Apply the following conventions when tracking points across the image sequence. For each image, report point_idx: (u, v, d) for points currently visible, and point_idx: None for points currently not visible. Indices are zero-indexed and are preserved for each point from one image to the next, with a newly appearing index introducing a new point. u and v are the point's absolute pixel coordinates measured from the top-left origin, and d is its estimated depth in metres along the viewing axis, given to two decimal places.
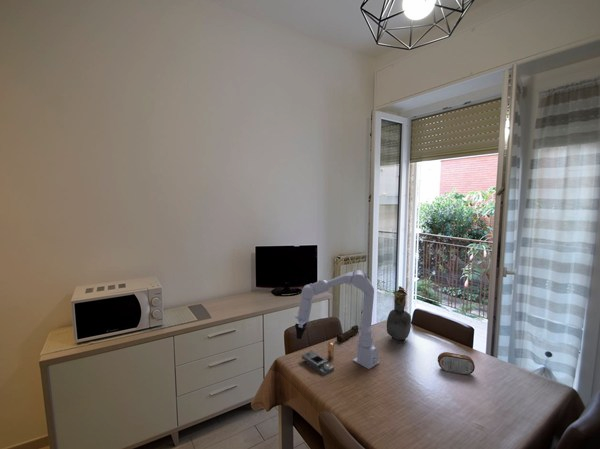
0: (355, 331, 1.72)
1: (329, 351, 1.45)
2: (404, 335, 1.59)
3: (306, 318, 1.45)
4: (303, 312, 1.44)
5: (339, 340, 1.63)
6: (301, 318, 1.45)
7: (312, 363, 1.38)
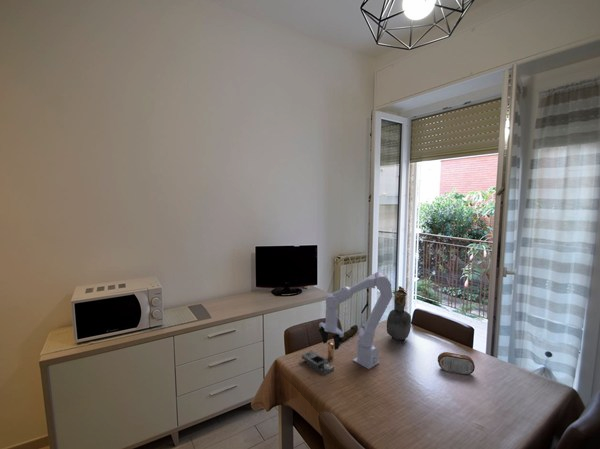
0: (355, 331, 1.72)
1: (329, 351, 1.45)
2: (404, 335, 1.59)
3: None
4: (335, 322, 1.42)
5: None
6: (334, 328, 1.42)
7: (312, 363, 1.38)
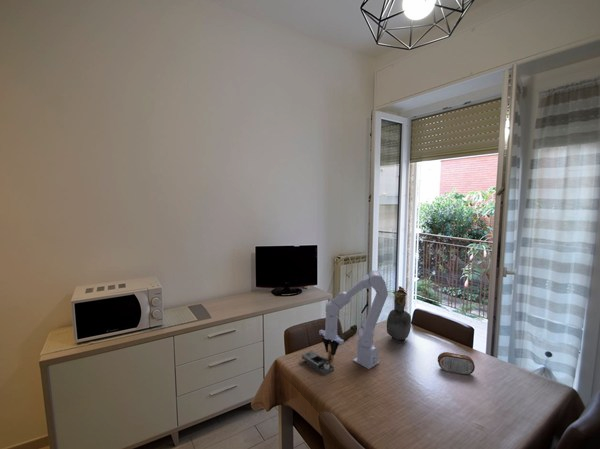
0: (354, 331, 1.72)
1: (329, 351, 1.45)
2: (404, 335, 1.59)
3: (336, 333, 1.45)
4: (335, 329, 1.43)
5: None
6: (334, 336, 1.43)
7: (312, 363, 1.38)
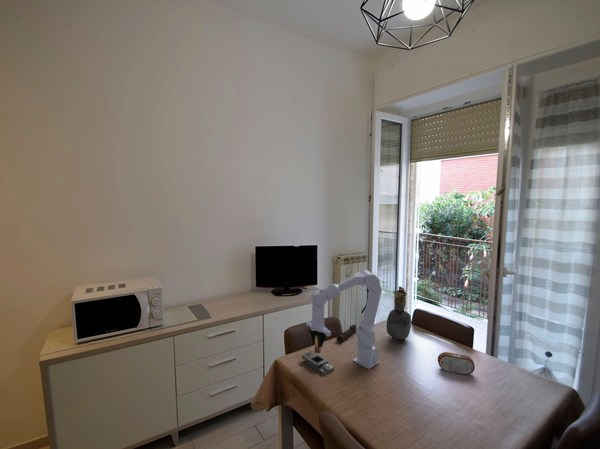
0: (353, 330, 1.73)
1: (316, 343, 1.38)
2: (404, 335, 1.59)
3: None
4: (322, 320, 1.36)
5: (339, 340, 1.63)
6: (321, 327, 1.36)
7: (312, 363, 1.38)
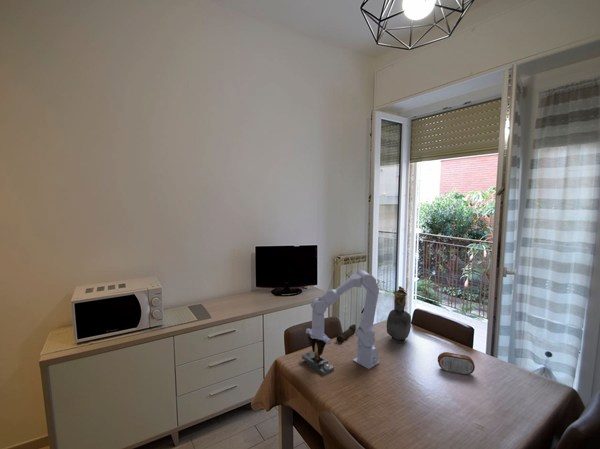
0: (353, 330, 1.73)
1: (316, 351, 1.39)
2: (404, 335, 1.59)
3: (323, 332, 1.38)
4: (322, 328, 1.37)
5: (339, 340, 1.63)
6: (321, 335, 1.37)
7: (312, 363, 1.38)
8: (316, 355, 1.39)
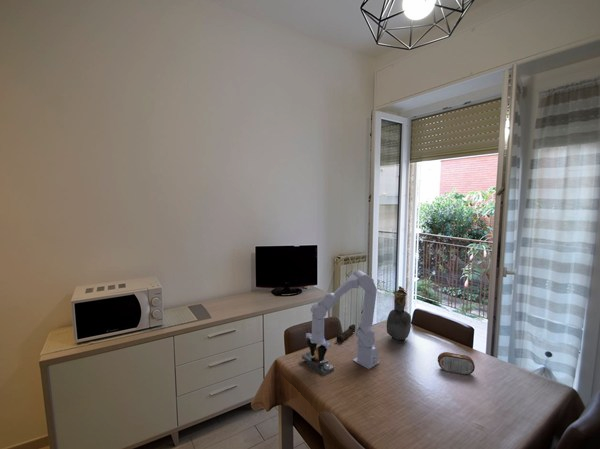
0: (353, 330, 1.73)
1: (316, 357, 1.39)
2: (404, 335, 1.59)
3: (323, 337, 1.39)
4: (322, 333, 1.37)
5: (339, 340, 1.63)
6: (321, 340, 1.37)
7: (312, 363, 1.38)
8: (316, 362, 1.39)
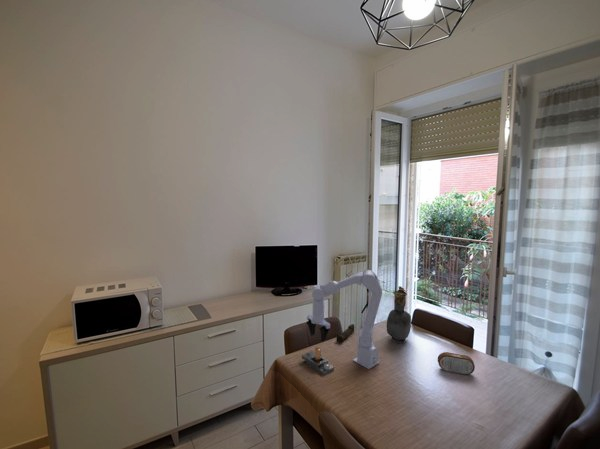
0: (352, 330, 1.73)
1: (316, 357, 1.39)
2: (404, 335, 1.59)
3: None
4: (322, 314, 1.45)
5: (339, 340, 1.63)
6: (321, 320, 1.45)
7: (312, 363, 1.38)
8: (316, 362, 1.39)
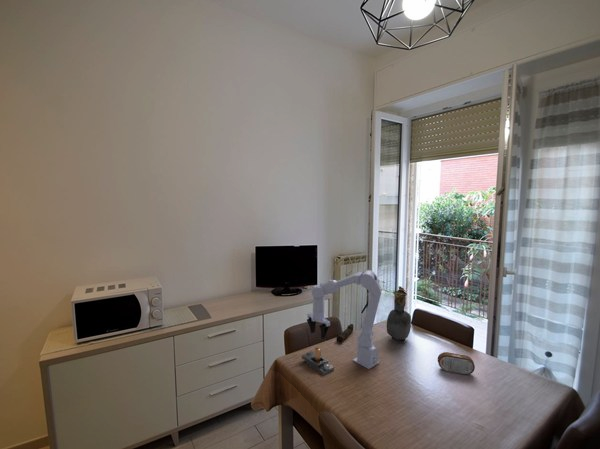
0: (351, 330, 1.74)
1: (316, 357, 1.39)
2: (404, 335, 1.59)
3: None
4: (322, 312, 1.48)
5: (339, 340, 1.63)
6: (321, 318, 1.47)
7: (312, 363, 1.38)
8: (316, 362, 1.39)
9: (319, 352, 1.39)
